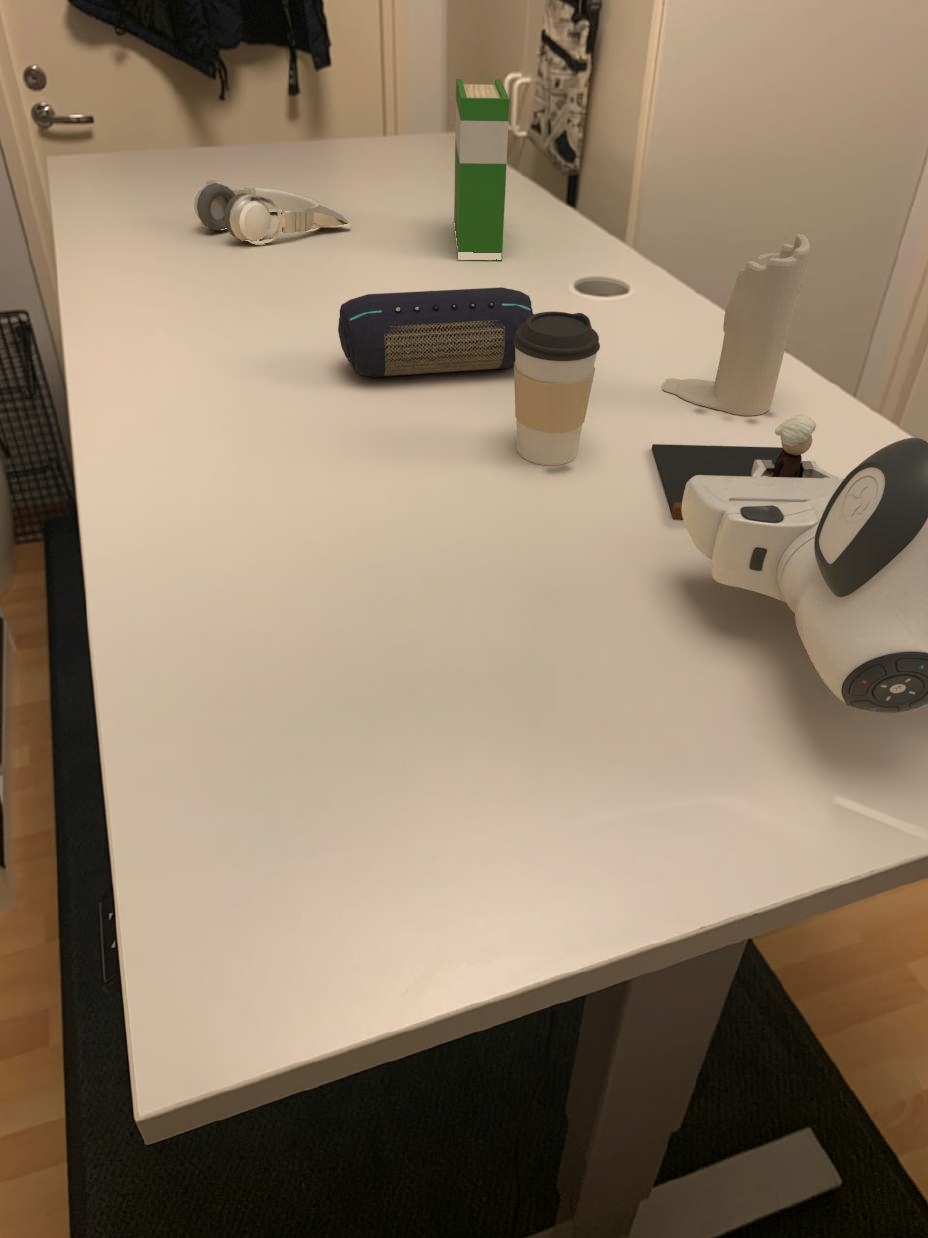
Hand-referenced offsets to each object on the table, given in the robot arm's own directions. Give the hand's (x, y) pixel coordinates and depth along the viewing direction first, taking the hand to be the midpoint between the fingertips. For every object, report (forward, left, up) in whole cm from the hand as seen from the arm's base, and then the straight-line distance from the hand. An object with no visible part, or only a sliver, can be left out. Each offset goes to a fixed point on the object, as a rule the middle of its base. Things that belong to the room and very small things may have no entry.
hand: (781, 467), depth 84 cm
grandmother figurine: (0, +1, -7) cm, 7 cm away
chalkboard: (0, -12, -8) cm, 14 cm away
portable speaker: (+33, -39, -9) cm, 52 cm away
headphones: (+66, -98, -9) cm, 118 cm away
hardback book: (+28, -92, -9) cm, 96 cm away
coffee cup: (+20, -18, -9) cm, 28 cm away
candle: (-2, -33, -9) cm, 34 cm away
